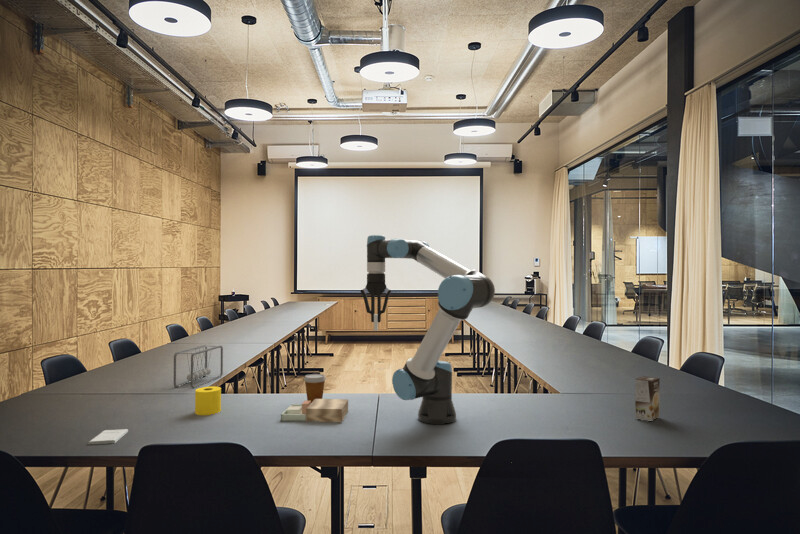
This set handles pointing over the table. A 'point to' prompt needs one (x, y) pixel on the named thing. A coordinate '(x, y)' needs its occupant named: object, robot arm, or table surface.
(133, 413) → the table surface
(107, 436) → the external hard drive
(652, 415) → the coffee box
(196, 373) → the newton's cradle
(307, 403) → the terracotta tile
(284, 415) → the tray
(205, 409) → the yellow toilet paper roll
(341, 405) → the tan wooden flat block
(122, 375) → the table surface
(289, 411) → the cream tile
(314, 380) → the disposable coffee cup
